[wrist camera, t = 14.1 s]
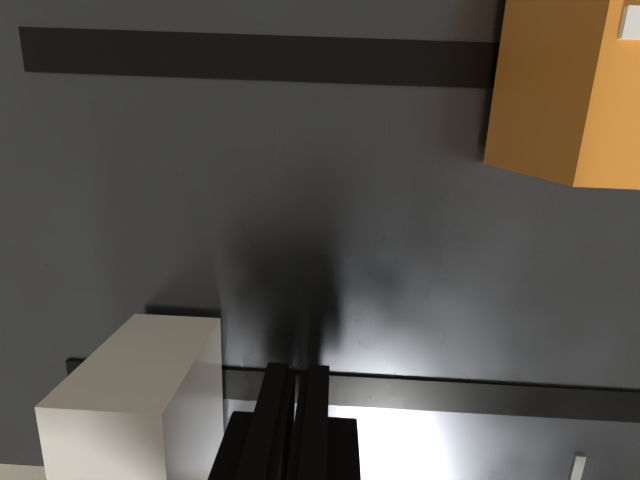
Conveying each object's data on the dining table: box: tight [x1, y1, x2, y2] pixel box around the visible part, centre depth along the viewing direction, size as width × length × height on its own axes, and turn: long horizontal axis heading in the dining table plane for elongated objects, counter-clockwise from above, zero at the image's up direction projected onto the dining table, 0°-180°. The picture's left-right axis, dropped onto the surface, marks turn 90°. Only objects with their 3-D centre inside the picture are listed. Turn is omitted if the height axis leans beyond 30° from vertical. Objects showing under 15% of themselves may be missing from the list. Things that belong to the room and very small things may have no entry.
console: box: [0, 0, 640, 480], centre depth 12 cm, size 24×16×2 cm, turn 88°
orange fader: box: [483, 0, 640, 190], centre depth 8 cm, size 2×4×4 cm, turn 178°
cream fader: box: [35, 314, 224, 480], centre depth 10 cm, size 2×4×4 cm, turn 178°
